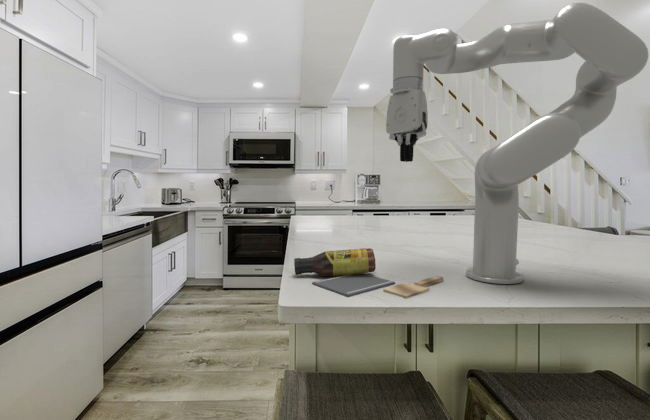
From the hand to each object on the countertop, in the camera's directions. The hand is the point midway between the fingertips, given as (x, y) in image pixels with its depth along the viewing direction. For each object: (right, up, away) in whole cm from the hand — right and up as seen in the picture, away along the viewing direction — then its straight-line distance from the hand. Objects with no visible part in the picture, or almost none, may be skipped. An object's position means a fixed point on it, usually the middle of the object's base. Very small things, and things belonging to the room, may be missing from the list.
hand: (406, 161), depth 89 cm
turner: (-1, -30, -13) cm, 33 cm away
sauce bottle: (-9, -25, -2) cm, 27 cm away
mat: (-14, -30, -10) cm, 34 cm away
